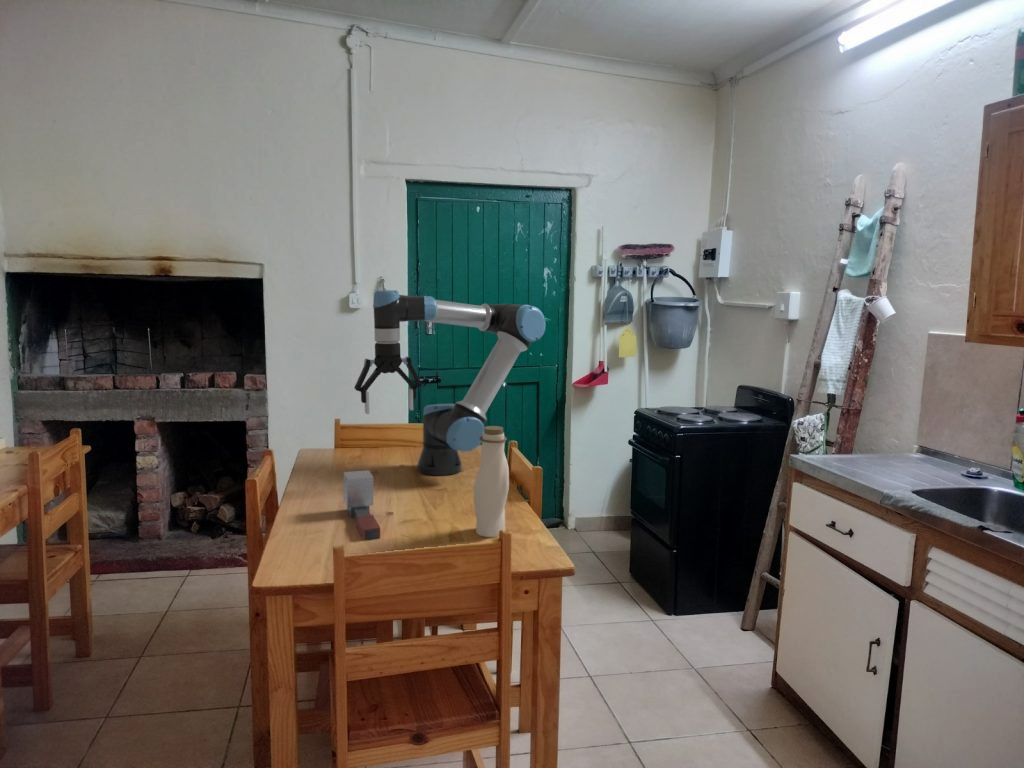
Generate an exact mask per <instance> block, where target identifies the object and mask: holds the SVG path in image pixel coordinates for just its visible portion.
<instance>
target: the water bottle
mask: <svg viewBox="0 0 1024 768" xmlns="http://www.w3.org/2000/svg"><path fill="white" fill-rule="evenodd" d="M482 438H483V439H482ZM479 439H480V440H481V441H482V442H481V449H480V467H479V470H478V471H477V472H476V477H475V479H474V480H475V481H474V487H473V488H474V490H473V505H474V512H475V516H476V526H475V534H477V535H478V536H480V537H484V538H498V537H499V536H498V533H499V531H500V530H503V531H505V532H506V510H505V506H506V503H507V499H508V494H509V489H510V470H509V469H510V468H509V464H508V460H507V457H506V453H505V446H506V445H505V444H506V442H507V440H508V439H507V436H505V432H504V427H503V426H499V425H488V426H487V425H486V426H484V432H483V436H481V437H480V438H479Z"/></svg>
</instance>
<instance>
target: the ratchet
mask: <svg viewBox="0 0 1024 768" xmlns="http://www.w3.org/2000/svg"><path fill="white" fill-rule="evenodd" d="M346 511H347V512H348V515H349V517H350V518H351V519H352V518H353V519H354V521H355V523H356V528H357V530H358V532H359V534H360V536H361V538H362V540H363V541H367V540H378V539H381V527H380V525H379V523H378V521H377V520H376V517H375V516H374V514H371V513H370V506H359V507H348V508H347V507H346Z"/></svg>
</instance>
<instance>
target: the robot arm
mask: <svg viewBox="0 0 1024 768" xmlns="http://www.w3.org/2000/svg"><path fill="white" fill-rule="evenodd" d="M372 300H373V302H372V303H373V304H372V308H373V320H374V325H373V326H374V327H373V328H374V342H375V343H374V359H368V358H365V359H364V361H363V363H364V364H363V367H362V370H361V372H360V374H359V377H358V378H357V381H356V382H355V385H354V390H355V391H357V392H360V401H361V403H363V404H364V413H365V414H366V415H370V393H369V391H368V389H370V387H371V386H372V385H373V383H374V382H375V380H376V379H377V378H378V377H379V376H380V375H381V374H389V373H391V374H394V373H397V374H398V375H399V376H400V377H401V378H402V379H403V380H404V382H406V383H407V384H408V388H407V394H408V395H407V397H408V399H407V400H408V410H410V411H414V400H416V398H417V389H418V388H419V387H422V385H423V383H422V382H421V379H420V377H419V376H418V374H417V372H416V370H415V368H414V366H413V363H412V359H411V357H409V356H404V357H402V355H401V343H400V342H399V341H401V331H400V330H401V329H400V328H401V325H400V322H428V323H436V324H446V325H451V326H452V325H454V326H460V327H461V326H462V327H467V328H469V327H471V328H476V329H478V330H479V331H480V332H488V333H491V334H496V336H497V341H496V343H495V345H494V346H493V348H492V349H491V351H490V353H489V355H488V356H487V358H486V360H485V362H484V363H483V365H482V367H481V368H480V370H479V372H478V374H477V376H476V377H475V379H474V381H473V382H472V384H471V386H470V387H469V389H468V390H467V393H466V394H465V396H464V397H463V399H462V400H460V401H456V402H455V403H437V404H428V405H425V406H424V408H423V415H422V418H423V422H422V423H423V427H422V429H423V430H422V432H423V433H422V436H423V437H422V439H423V440H422V442H423V444H422V450H421V453H420V456H419V459H418V461H417V471H418V472H420V473H421V474H424V475H429V476H450V475H454V474H457V473H460V472H462V466H463V465H462V460H461V458H460V454H459V452H466V453H467V452H470V451H474V450H475V449H476V448H478V447H479V446H480V445H482V441H481V440H480V439H479V438H480V437H481V436H483V432H484V427H485V424H486V422H487V420H488V419H487V415H486V413H487V411H488V409H489V408H490V406H491V404H492V402H493V401H494V399H495V397H496V395H497V394H498V392H499V391H500V389H501V387H502V385H503V383H504V382H505V380H506V378H507V377H508V375H509V373H510V371H511V370H512V368H513V367H514V364H515V362H516V361H517V359H518V357H519V355H520V354H521V353H522V352H523V353H524V352H526V351H527V350H528V349H529V348H530V346H531V343H532V342H537V341H538V340H540V339H541V338H542V337H543V335H544V334H545V331H546V324H547V323H546V319H545V318H546V317H545V315H544V314H543V312H542V311H541V310H540V309H539V308H538V307H536V306H533V305H530V304H515V303H499V304H498V303H497V304H495V303H494V304H492V303H482V304H481V305H475V304H469V303H462V302H456V301H449V300H448V301H447V300H440V299H435V297H433V296H432V295H429V296H428V295H427V296H426V295H421V296H420V295H419V296H417V295H415V296H414V295H403V294H400V292H399V291H398V290H389V289H388V290H385V289H384V290H381V289H380V290H375V292H374V293H373V299H372ZM373 364H374V365H375V367H376V368H375V369H374V370H373V372H372V373H371V374H370V376H369V377H368V379H367V380H366V377H367V375H368V373H369V371H370V369H371V367H373ZM402 364H404V365H406V368H407V369H408V372H409V373H410V375H411V377H412V379H413V381H414V382H413V381H412V379H410V378H409V376H408V375H407V374H406V373H405V371H403V369H402V368H401V365H402ZM365 380H366V381H365ZM363 383H364V384H363ZM482 439H483V438H482Z"/></svg>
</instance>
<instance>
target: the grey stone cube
mask: <svg viewBox="0 0 1024 768" xmlns="http://www.w3.org/2000/svg"><path fill="white" fill-rule="evenodd" d="M343 502H344V504H345V505H346V509H347V508H348V507H359V506H369V507H370V506H374V476H373V474H372V472H371V471H370V470H369V469H368V470H367V469H366V470H356V471H343Z"/></svg>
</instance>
